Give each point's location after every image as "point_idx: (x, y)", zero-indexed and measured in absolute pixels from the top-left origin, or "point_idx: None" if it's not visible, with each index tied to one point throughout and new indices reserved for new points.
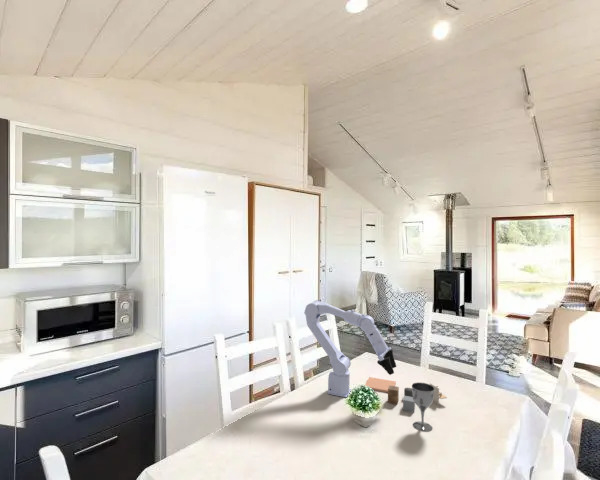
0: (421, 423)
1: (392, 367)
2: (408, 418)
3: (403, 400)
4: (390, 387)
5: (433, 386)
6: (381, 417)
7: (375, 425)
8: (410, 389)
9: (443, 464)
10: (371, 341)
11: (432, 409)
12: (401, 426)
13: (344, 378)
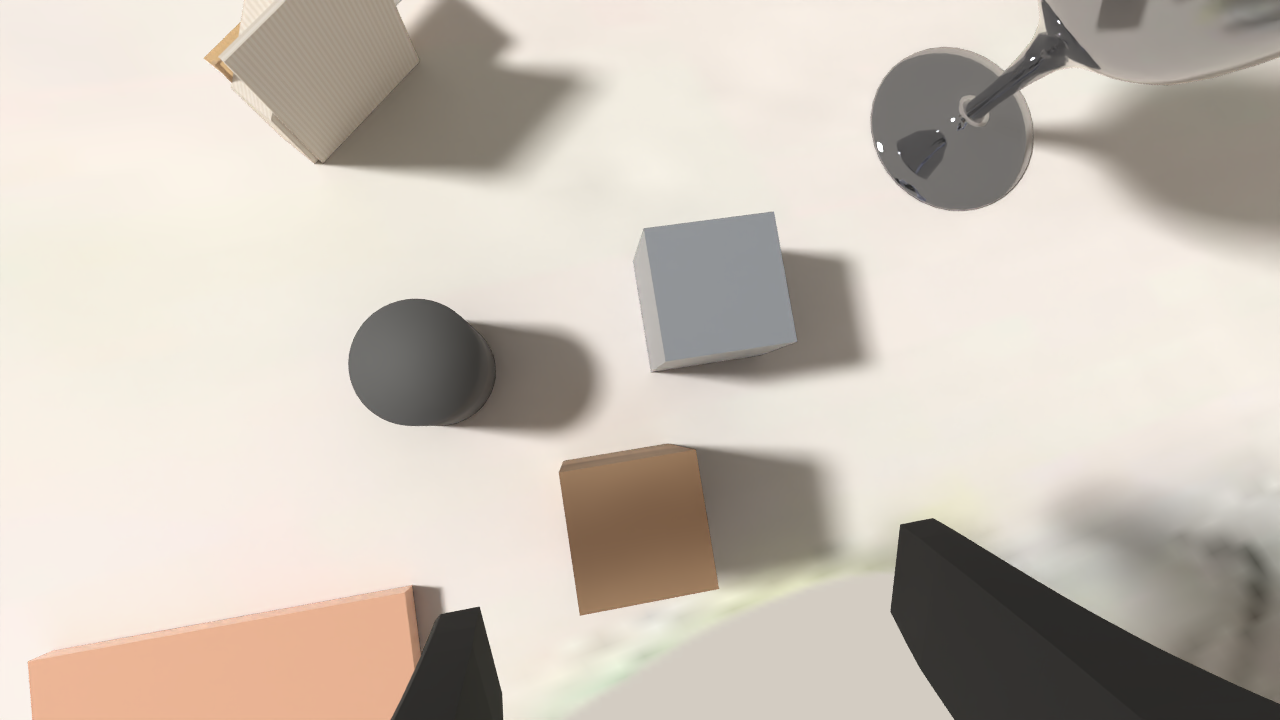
0: (982, 120)
1: (497, 698)
2: (887, 267)
3: (795, 337)
4: (646, 573)
5: (291, 12)
6: (1019, 497)
7: (1180, 494)
8: (401, 344)
9: None
10: None
11: (570, 99)
12: (1058, 287)
13: None
